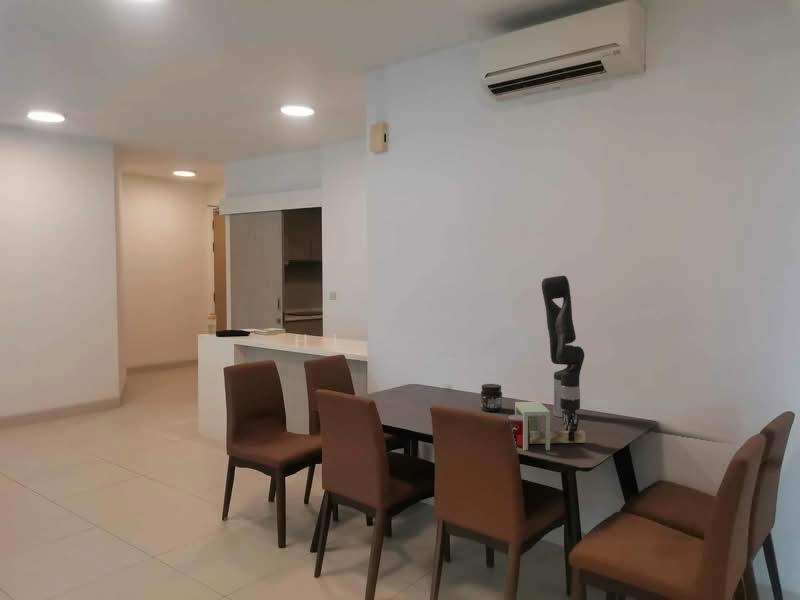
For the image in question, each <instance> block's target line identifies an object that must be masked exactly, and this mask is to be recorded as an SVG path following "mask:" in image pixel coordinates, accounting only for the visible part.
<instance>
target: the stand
mask: <svg viewBox="0 0 800 600" xmlns="http://www.w3.org/2000/svg"><path fill="white" fill-rule="evenodd" d="M514 406H515V407H514V415H523V447H522V450H523V451H524V450H525V451H526V450H527V451H528V450H529V444H528V417H529V431H541V417H542V416H544V431H545V443H544V449H546V451H551V443H550V431H551V411H550V410H549V409H548V408H547V407H546V406H545V405H544V404H543V403H542V402H540V401H515V403H514ZM525 451H524V452H525Z"/></svg>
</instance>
